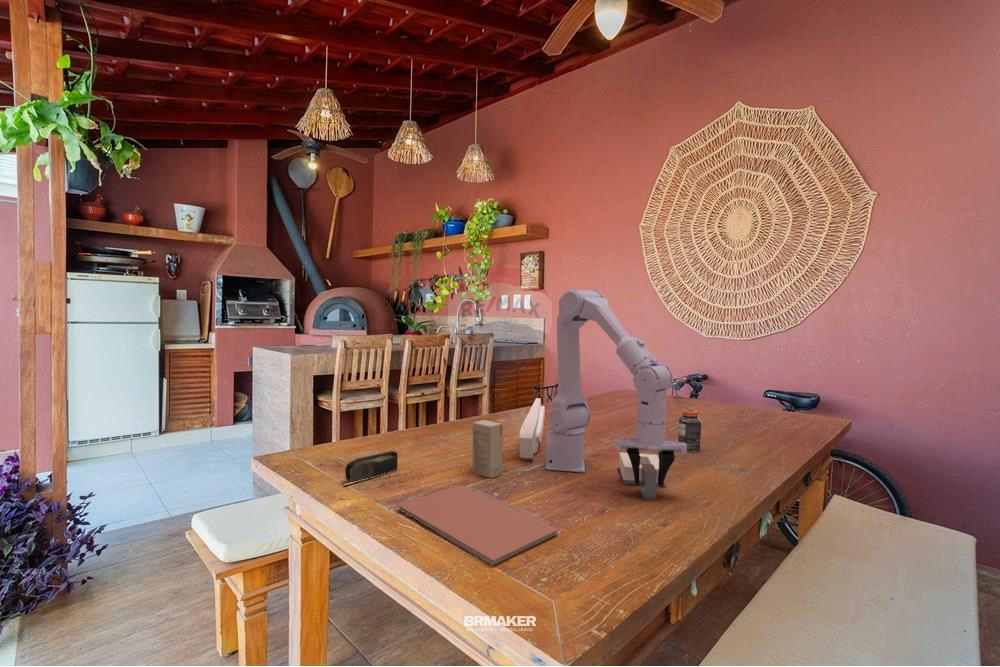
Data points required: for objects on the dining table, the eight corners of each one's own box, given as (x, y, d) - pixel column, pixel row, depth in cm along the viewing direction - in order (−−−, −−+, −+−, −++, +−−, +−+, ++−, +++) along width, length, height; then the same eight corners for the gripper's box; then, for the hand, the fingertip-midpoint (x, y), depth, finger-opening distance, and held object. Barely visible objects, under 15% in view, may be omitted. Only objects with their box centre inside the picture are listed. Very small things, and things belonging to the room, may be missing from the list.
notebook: (562, 536, 86) (563, 525, 86) (493, 571, 74) (493, 558, 74) (464, 491, 105) (464, 482, 105) (397, 513, 94) (397, 503, 94)
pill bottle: (701, 449, 139) (703, 410, 139) (697, 454, 134) (699, 413, 134) (680, 445, 143) (681, 407, 142) (675, 450, 138) (677, 410, 137)
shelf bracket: (547, 437, 149) (547, 398, 146) (536, 481, 125) (536, 437, 122) (529, 435, 150) (529, 397, 147) (515, 479, 126) (515, 435, 123)
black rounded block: (392, 448, 118) (338, 462, 106) (400, 451, 116) (346, 465, 104) (391, 468, 118) (337, 484, 106) (399, 471, 116) (346, 488, 104)
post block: (623, 484, 110) (624, 466, 110) (618, 468, 121) (619, 452, 121) (664, 487, 109) (665, 469, 109) (656, 470, 120) (656, 454, 120)
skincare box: (503, 474, 115) (504, 423, 114) (490, 479, 111) (491, 426, 111) (483, 468, 119) (485, 418, 118) (471, 472, 116) (472, 421, 115)
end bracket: (644, 499, 102) (645, 471, 102) (640, 490, 107) (641, 463, 106) (655, 500, 102) (657, 472, 101) (651, 491, 107) (652, 464, 106)
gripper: (618, 424, 100) (615, 488, 101) (691, 428, 98) (688, 493, 99) (614, 416, 107) (612, 476, 108) (683, 420, 105) (680, 481, 106)
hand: (648, 484), depth 104 cm, fingers open, 4 cm apart
